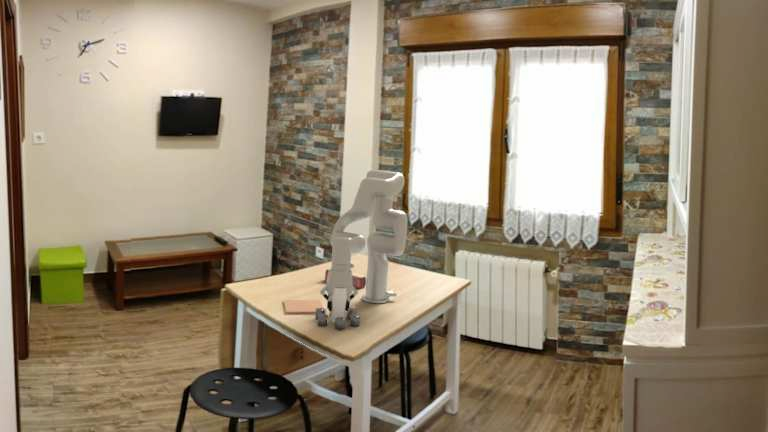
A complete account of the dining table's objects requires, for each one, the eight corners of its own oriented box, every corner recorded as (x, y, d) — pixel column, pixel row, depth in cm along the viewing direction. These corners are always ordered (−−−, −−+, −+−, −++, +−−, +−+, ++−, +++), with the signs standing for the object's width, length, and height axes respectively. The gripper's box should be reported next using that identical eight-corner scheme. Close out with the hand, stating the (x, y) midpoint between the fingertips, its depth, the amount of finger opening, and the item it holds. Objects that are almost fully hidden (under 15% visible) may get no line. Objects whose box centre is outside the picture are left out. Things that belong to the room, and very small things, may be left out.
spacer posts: (354, 314, 255) (354, 305, 254) (362, 330, 236) (362, 320, 236) (313, 314, 251) (314, 305, 250) (319, 330, 233) (319, 320, 232)
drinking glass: (329, 324, 240) (332, 288, 237) (328, 319, 246) (330, 283, 244) (346, 324, 241) (349, 288, 239) (344, 319, 247) (346, 283, 245)
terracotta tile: (320, 302, 268) (320, 299, 267) (324, 313, 252) (324, 311, 252) (283, 302, 264) (283, 299, 264) (285, 314, 249) (286, 311, 248)
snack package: (366, 287, 298) (367, 273, 296) (359, 290, 292) (360, 276, 291) (330, 279, 308) (331, 266, 306) (323, 281, 302) (324, 268, 301)
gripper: (360, 264, 245) (357, 307, 248) (318, 264, 242) (315, 307, 244) (363, 269, 238) (360, 313, 241) (320, 268, 234) (317, 313, 237)
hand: (338, 309), depth 243 cm, fingers closed on drinking glass, 6 cm apart
